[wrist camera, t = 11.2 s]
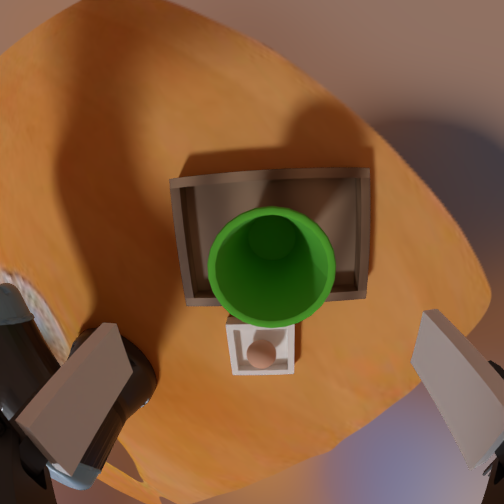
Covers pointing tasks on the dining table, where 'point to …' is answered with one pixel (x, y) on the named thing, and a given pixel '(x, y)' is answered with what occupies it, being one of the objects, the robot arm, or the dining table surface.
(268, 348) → the ball
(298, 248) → the cup
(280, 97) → the dining table surface
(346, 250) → the tray
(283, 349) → the dish
